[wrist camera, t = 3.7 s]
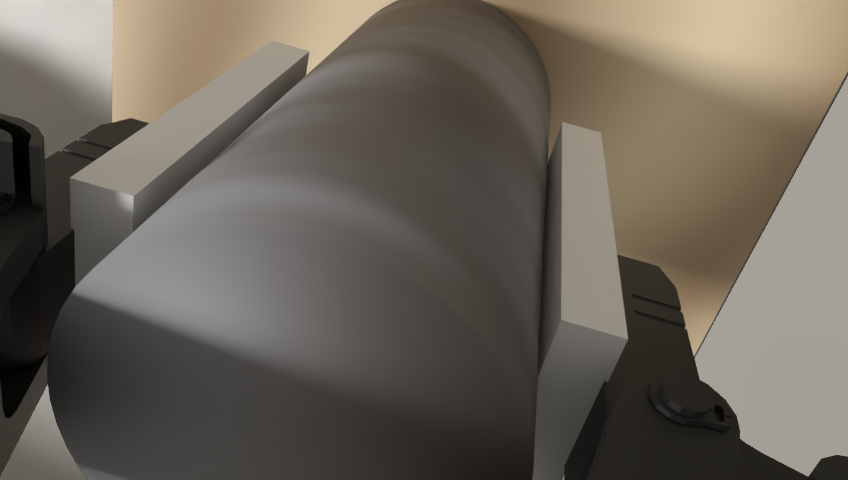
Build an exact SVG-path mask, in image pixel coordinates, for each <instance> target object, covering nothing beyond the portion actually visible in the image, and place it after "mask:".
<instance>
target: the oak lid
mask: <svg viewBox="0 0 848 480" xmlns="http://www.w3.org/2000/svg"><path fill="white" fill-rule="evenodd" d="M270 41H275V42H279V43H282V44H286V45H290V46H293V47H297V48H300V49H304V50H307V51H310V52H309V59H308V65H307V72H306V76H305V77H304V78H303V79H302V80H300V81H299V82H298V83H297V84H296V85H295V86H294V87H293V88H292V89H291V90H289V91H288V92H287V93H286V94H285V95H284V96H283V97H282V98H281V99H280V100H278V101H277V102H276V103H275V104H274V105H273V106H272V107H271V108H270V109H268V110H267V111H266V112H265V113H264V114H263V115H262V116H261V117H260V118H259V119H257V120H256V121H255V122H254V123H253V124H252V125H251V126H250V127H249V128H248V129H246V130H245V131H244V132H243V133H242V134H241V135H240V136H239V137H238V138H237V139H235V140H234V141H233V142H232V143H231V144H230V145H229V146H228V147H227V148H225V149H224V150H223V151H222V152H221V153H220V154H219V155H218V156H217V157H216V158H214V159H213V160H212V161H211V162H210V163H209V164H208V165H207V166H206V167H205V168H203V169H202V170H201V171H200V172H199V173H198V174H197V175H196V176H195V177H193V178H192V179H191V180H190V181H189V182H188V183H187V184H186V185H185V186H184V187H182V188H181V189H180V190H179V191H178V192H177V193H176V194H175V195H174V196H173V197H171V198H170V199H169V200H168V201H167V202H166V203H165V204H164V205H163V206H161V207H160V208H159V209H158V210H157V211H156V212H155V213H154V214H153V215H152V216H150V217H149V218H148V219H147V220H146V221H145V222H144V223H143V224H142V225H141V226H139V227H138V228H137V229H136V230H135V231H134V232H133V233H132V234H131V235H130V236H128V237H127V238H126V239H125V240H124V241H123V242H122V243H121V244H120V245H118V246H117V247H116V248H115V249H114V250H113V251H112V252H111V253H110V254H109V255H107V256H106V257H105V258H104V259H103V260H102V261H101V262H100V263H99V264H98V265H96V266H95V267H94V268H93V269H92V270H91V271H90V272H89V273H88V274H87V275H86V276H85V277H84V278H83V279H82V280H81V281H80V282H79V283H78V284H77V285H76V287H75V288H74V290H73V291H72V293H71V294H70V296H69V297H68V299H67V300H66V302H65V303H64V305H63V306H62V308H61V311H60V313H59V315H58V318H57V320H56V322H55V325H54V327H53V330H52V335H51V340H50V344H49V349H48V362H47V380H48V388H49V395H50V401H51V405H52V408H53V412H54V416H55V419H56V423H57V425H58V427H59V430H60V432H61V434H62V437H63V439H64V441H65V444H66V446H67V448H68V450H69V451H70V453H71V455H72V456H73V458H74V460H75V462H76V463H77V465H78V467H79V468H80V470H81V471H82V473H83V474H84V475H85V477H86V478H87V479H88V480H532V477H533V468H534V447H535V426H536V404H537V383H538V362H539V340H540V319H541V297H542V276H543V255H544V233H545V212H546V191H547V169H548V161H549V158H550V155H551V152H552V149H553V147H554V144H555V141H556V138H557V135H558V132H559V129H560V126H561V123H562V122H565V123H568V124H572V125H575V126H579V127H582V128H586V129H589V130H593V131H597V132H600V133H601V136H602V143H603V151H604V159H605V166H606V174H607V182H608V189H609V197H610V204H611V212H612V220H613V227H614V235H615V243H616V250H617V254H618V255H621V256H625V257H628V258H632V259H635V260H639V261H642V262H646V263H649V264H653V265H656V266H659V267H660V268H661V270H662V271H663V272H664V273H665V275H666V276H667V277H668V278H669V279H670V281H671V282H672V283H673V284H674V286H675V287H676V289H677V293H678V297H679V300H680V304H681V311H680V312H683V316H684V320H685V324H686V326H685V329H687V332H688V336H689V340H690V344H691V348H692V352H693V356H695V354H696V352H697V350H698V348H699V346H700V345H701V343H702V341H703V339H704V337H705V335H706V333H707V332H708V330H709V328H710V326H711V324H712V322H713V320H714V319H715V317H716V315H717V313H718V311H719V309H720V307H721V306H722V304H723V302H724V300H725V298H726V296H727V294H728V293H729V291H730V289H731V287H732V285H733V283H734V282H735V280H736V278H737V276H738V274H739V272H740V270H741V269H742V267H743V265H744V263H745V261H746V259H747V257H748V256H749V254H750V252H751V250H752V248H753V246H754V244H755V243H756V241H757V239H758V237H759V235H760V233H761V231H762V230H763V228H764V226H765V224H766V222H767V220H768V219H769V217H770V215H771V213H772V211H773V209H774V207H775V206H776V204H777V202H778V200H779V198H780V196H781V194H782V193H783V191H784V189H785V187H786V185H787V183H788V181H789V180H790V178H791V176H792V174H793V172H794V170H795V168H796V167H797V165H798V163H799V161H800V159H801V157H802V155H803V154H804V152H805V150H806V148H807V146H808V144H809V143H810V141H811V139H812V137H813V135H814V133H815V131H816V130H817V128H818V126H819V124H820V122H821V120H822V118H823V117H824V115H825V113H826V111H827V109H828V107H829V105H830V104H831V102H832V100H833V98H834V96H835V94H836V92H837V91H838V89H839V87H840V85H841V83H842V81H843V80H844V78H845V76H846V74H847V72H848V0H113V73H112V123H113V122H117V121H121V120H125V119H129V118H133V119H136V120H140V121H143V122H147V123H151V122H152V121H154V120H155V119H157V118H158V117H160V116H161V115H163V114H164V113H166V112H167V111H169V110H170V109H172V108H173V107H174V106H176V105H177V104H179V103H180V102H182V101H183V100H185V99H186V98H188V97H189V96H191V95H192V94H194V93H195V92H197V91H198V90H200V89H201V88H202V87H204V86H205V85H207V84H208V83H210V82H211V81H213V80H214V79H216V78H217V77H219V76H220V75H222V74H223V73H225V72H226V71H227V70H229V69H230V68H232V67H233V66H235V65H236V64H238V63H239V62H241V61H242V60H244V59H245V58H247V57H248V56H250V55H251V54H252V53H254V52H255V51H257V50H258V49H260V48H261V47H263V46H264V45H266V44H267V43H269V42H270Z"/></svg>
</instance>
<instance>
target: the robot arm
mask: <svg viewBox="0 0 848 480" xmlns="http://www.w3.org/2000/svg"><path fill="white" fill-rule="evenodd" d="M309 52H310V51H307V50H304V49H300V48H297V47H293V46H290V45H286V44H282V43H279V42H275V41H270V42H269V43H267V44H266V45H264V46H263V47H261V48H260V49H258V50H257V51H255V52H254V53H252V54H251V55H250V56H248V57H247V58H245V59H244V60H242V61H241V62H239V63H238V64H236V65H235V66H233V67H232V68H230V69H229V70H227V71H226V72H225V73H223V74H222V75H220V76H219V77H217V78H216V79H214V80H213V81H211V82H210V83H208V84H207V85H205V86H204V87H202V88H201V89H200V90H198V91H197V92H195V93H194V94H192V95H191V96H189V97H188V98H186V99H185V100H183V101H182V102H180V103H179V104H177V105H176V106H174V107H173V108H172V109H170V110H169V111H167V112H166V113H164V114H163V115H161V116H160V117H158V118H157V119H155V120H154V121H152V122H151V123H147V122H143V121H140V120H136V119H133V118H129V119H125V120H121V121H117V122H113V123H109V124H104V125H101V126H99V127H97V128H96V129H94V130H92V131H91V132H89V133H88V134H86V135H84V136H83V137H81V138H80V141H74V142H73V143H71V144H70V145H68V146H66V147H65V148H63V151H62V152H60V151H58V152H56V153H55V154H53V155H52V156H50V157H48V158H47V159H45V154H44V137H43V135H42V134H41V132H40V131H39V129H38V128H37V127H35V126H34V125H32V124H30V123H28V122H26V121H24V120H22V119H19V118H15V117H11V116H7V115H3V114H0V475H1V474H2V472H3V470H4V468H5V466H6V464H7V462H8V460H9V458H10V456H11V454H12V452H13V450H14V448H15V446H16V444H17V443H18V441H19V439H20V437H21V435H22V433H23V431H24V429H25V427H26V425H27V423H28V421H29V419H30V417H31V415H32V413H33V412H34V410H35V408H36V406H37V404H38V402H39V400H40V398H41V396H42V394H43V392H44V390H45V388H46V386H47V384H48V380H47V362H48V349H49V344H50V340H51V335H52V330H53V327H54V325H55V322H56V320H57V318H58V315H59V313H60V311H61V308H62V306H63V305H64V303H65V302H66V300H67V299H68V297H69V296H70V294H71V293H72V291H73V290H74V288H75V287H76V285H77V284H78V283H79V282H80V281H81V280H82V279H83V278H84V277H85V276H86V275H87V274H88V273H89V272H90V271H91V270H92V269H93V268H94V267H95V266H96V265H98V264H99V263H100V262H101V261H102V260H103V259H104V258H105V257H106V256H107V255H109V254H110V253H111V252H112V251H113V250H114V249H115V248H116V247H117V246H118V245H120V244H121V243H122V242H123V241H124V240H125V239H126V238H127V237H128V236H130V235H131V234H132V233H133V232H134V231H135V230H136V229H137V228H138V227H139V226H141V225H142V224H143V223H144V222H145V221H146V220H147V219H148V218H149V217H150V216H152V215H153V214H154V213H155V212H156V211H157V210H158V209H159V208H160V207H161V206H163V205H164V204H165V203H166V202H167V201H168V200H169V199H170V198H171V197H173V196H174V195H175V194H176V193H177V192H178V191H179V190H180V189H181V188H182V187H184V186H185V185H186V184H187V183H188V182H189V181H190V180H191V179H192V178H193V177H195V176H196V175H197V174H198V173H199V172H200V171H201V170H202V169H203V168H205V167H206V166H207V165H208V164H209V163H210V162H211V161H212V160H213V159H214V158H216V157H217V156H218V155H219V154H220V153H221V152H222V151H223V150H224V149H225V148H227V147H228V146H229V145H230V144H231V143H232V142H233V141H234V140H235V139H237V138H238V137H239V136H240V135H241V134H242V133H243V132H244V131H245V130H246V129H248V128H249V127H250V126H251V125H252V124H253V123H254V122H255V121H256V120H257V119H259V118H260V117H261V116H262V115H263V114H264V113H265V112H266V111H267V110H268V109H270V108H271V107H272V106H273V105H274V104H275V103H276V102H277V101H278V100H280V99H281V98H282V97H283V96H284V95H285V94H286V93H287V92H288V91H289V90H291V89H292V88H293V87H294V86H295V85H296V84H297V83H298V82H299V81H300V80H302V79H303V78H304V77H305V76H306V72H307V65H308V59H309ZM680 311H681V304H680V300H679V297H678V293H677V289H676V287H675V286H674V284H673V283H672V282H671V281H670V279H669V278H668V277H667V276H666V275H665V273H664V272H663V271H662V270H661V268H660V267H659V266H656V265H653V264H649V263H646V262H642V261H639V260H635V259H632V258H628V257H625V256H621V255H618V254H617V250H616V243H615V235H614V227H613V220H612V212H611V204H610V197H609V189H608V182H607V174H606V166H605V159H604V151H603V143H602V136H601V133H600V132H597V131H593V130H589V129H586V128H582V127H579V126H575V125H572V124H568V123H565V122H562V123H561V126H560V129H559V132H558V135H557V138H556V141H555V144H554V147H553V149H552V152H551V155H550V158H549V161H548V169H547V191H546V212H545V233H544V255H543V276H542V297H541V319H540V340H539V362H538V383H537V404H536V426H535V447H534V468H533V477H532V480H562V478H563V476H564V480H848V457H846V456H840V455H835V456H831V457H827V458H823V459H821V460H820V462H819V463H818V464H817V466H816V467H815V468H814V470H813V471H812V473H811V474H810V475H809V477H807V476H805V475H803V474H802V473H799V472H798V471H796V470H794V469H792V468H790V467H788V466H786V465H784V464H782V463H780V462H778V461H776V460H774V459H773V458H771V457H769V456H767V455H765V454H763V453H761V452H759V451H758V450H756V449H754V448H753V447H751V446H750V445H748V444H746V443H745V442H743V441H742V440H741V439H740V429H739V425H738V421H737V416H736V415H735V413H734V412H733V410H732V409H731V407H730V406H729V404H728V403H727V402H726V400H725V399H724V398H723V397H721V396H720V395H719V394H718V393H717V392H716V391H715V390H713V389H712V388H711V387H710V386H709V385H708V384H706V383H704V382H702V381H700V379H699V375H698V372H697V367H696V364H695V360H694V356H693V352H692V348H691V344H690V340H689V336H688V332H687V329H685V326H686V324H685V320H684V316H683V312H680Z"/></svg>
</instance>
